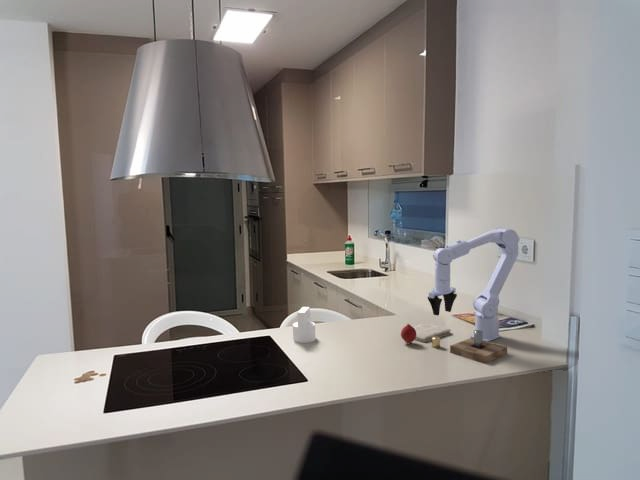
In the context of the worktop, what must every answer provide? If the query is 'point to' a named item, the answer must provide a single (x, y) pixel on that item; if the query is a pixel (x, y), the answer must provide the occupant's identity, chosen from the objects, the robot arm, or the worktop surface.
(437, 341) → the short brass pin
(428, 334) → the washcloth
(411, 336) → the onion
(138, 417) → the worktop surface
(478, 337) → the long steel pin
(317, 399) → the worktop surface
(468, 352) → the walnut hole plate
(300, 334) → the base with upright slab
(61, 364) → the worktop surface
